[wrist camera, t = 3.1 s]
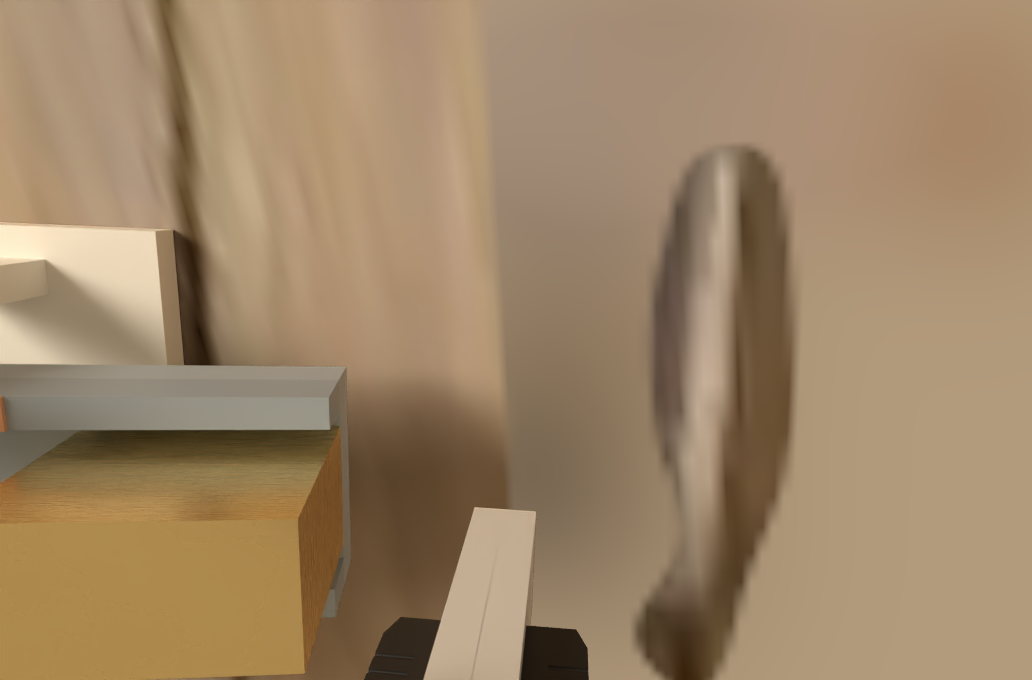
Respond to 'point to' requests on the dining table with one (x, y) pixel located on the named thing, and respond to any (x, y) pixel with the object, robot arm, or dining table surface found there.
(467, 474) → the dining table surface
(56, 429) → the beam
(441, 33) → the dining table surface
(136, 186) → the dining table surface
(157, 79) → the dining table surface
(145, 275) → the stand
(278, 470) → the block
